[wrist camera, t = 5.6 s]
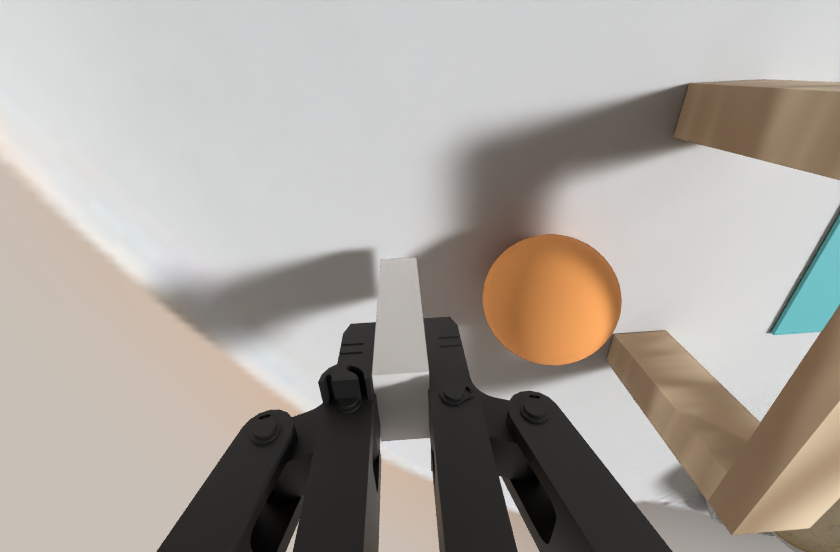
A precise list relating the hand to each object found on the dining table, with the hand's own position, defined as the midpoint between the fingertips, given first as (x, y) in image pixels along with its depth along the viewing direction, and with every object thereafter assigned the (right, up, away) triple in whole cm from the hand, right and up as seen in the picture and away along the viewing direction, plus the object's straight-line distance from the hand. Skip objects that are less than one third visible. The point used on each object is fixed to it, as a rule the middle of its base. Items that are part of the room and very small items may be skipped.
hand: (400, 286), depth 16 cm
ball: (+6, -1, 0) cm, 6 cm away
